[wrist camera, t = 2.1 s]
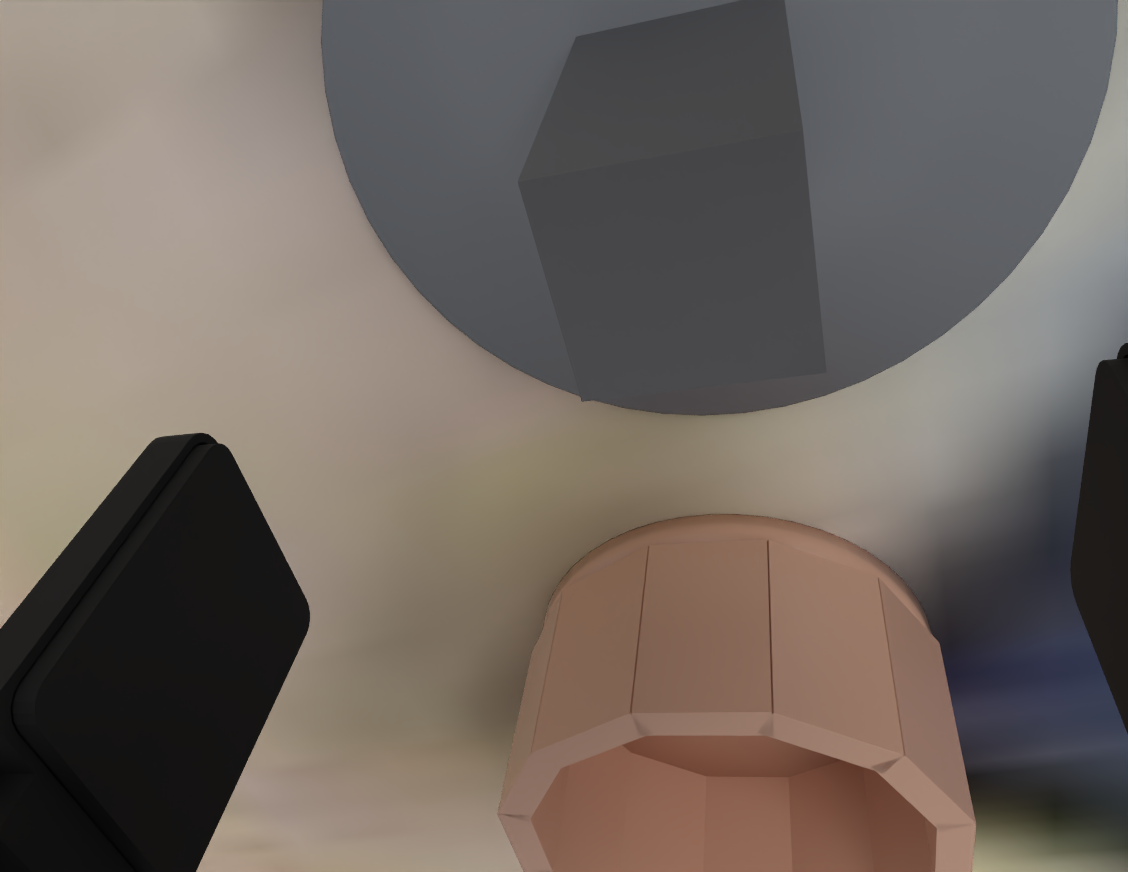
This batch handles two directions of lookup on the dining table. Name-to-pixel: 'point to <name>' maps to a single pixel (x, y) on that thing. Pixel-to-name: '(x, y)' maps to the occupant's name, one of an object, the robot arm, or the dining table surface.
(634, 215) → the lid
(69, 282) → the dining table surface
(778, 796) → the bowl
